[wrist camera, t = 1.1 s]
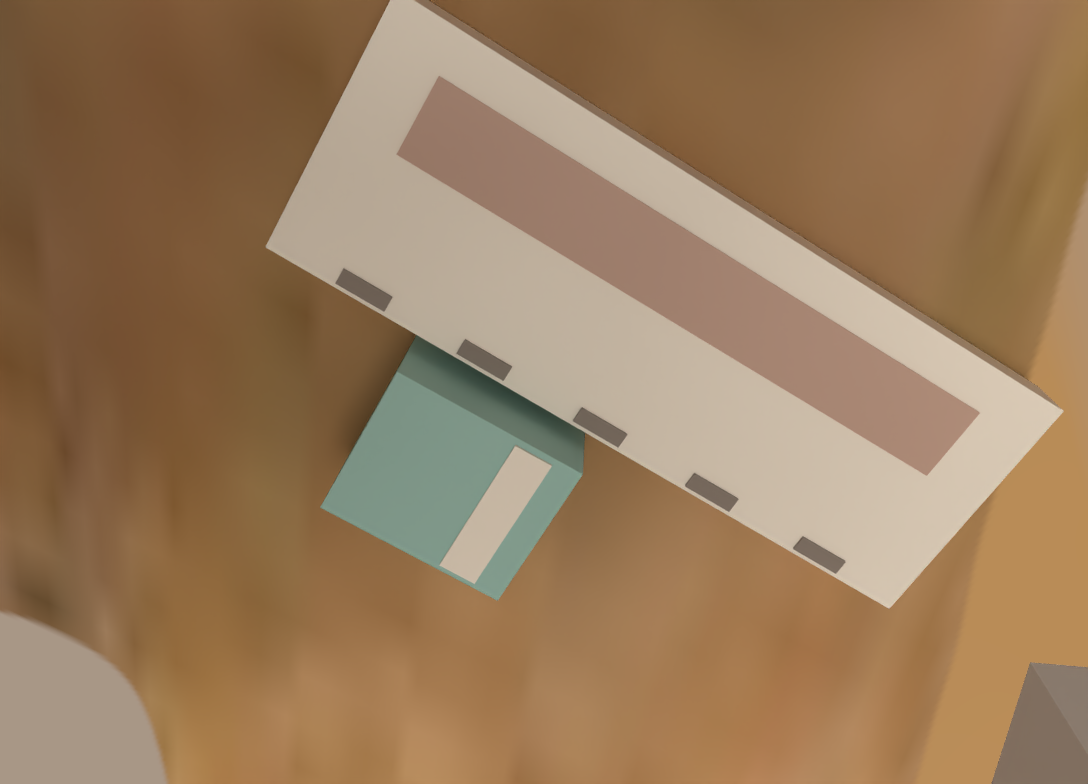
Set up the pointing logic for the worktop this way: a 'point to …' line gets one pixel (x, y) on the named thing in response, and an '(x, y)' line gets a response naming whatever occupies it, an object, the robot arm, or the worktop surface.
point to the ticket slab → (651, 306)
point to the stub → (458, 470)
